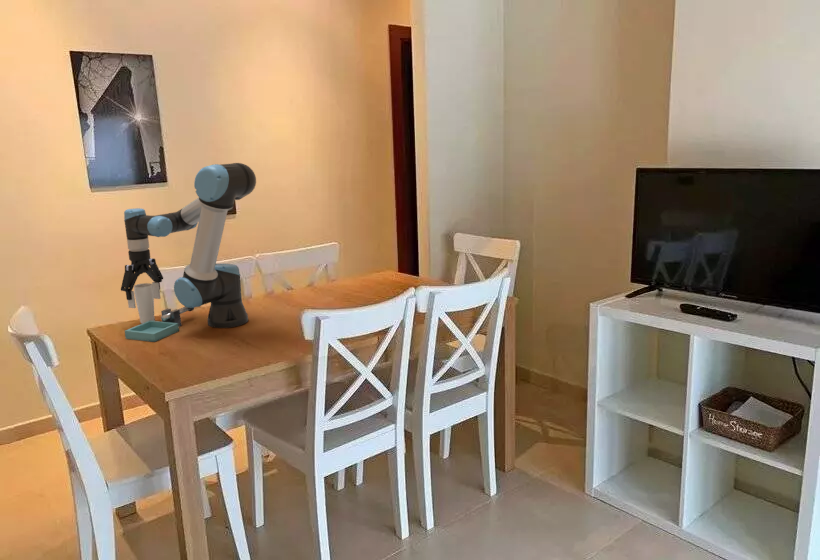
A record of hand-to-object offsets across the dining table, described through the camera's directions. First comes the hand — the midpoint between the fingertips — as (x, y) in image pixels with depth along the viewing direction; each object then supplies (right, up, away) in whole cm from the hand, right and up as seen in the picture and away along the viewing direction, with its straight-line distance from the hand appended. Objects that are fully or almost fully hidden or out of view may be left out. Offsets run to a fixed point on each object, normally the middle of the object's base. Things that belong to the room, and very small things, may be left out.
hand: (145, 303), depth 249 cm
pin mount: (+12, -9, -4) cm, 15 cm away
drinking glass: (0, -8, +2) cm, 8 cm away
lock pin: (+13, -5, -1) cm, 14 cm away
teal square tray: (+8, -11, -14) cm, 19 cm away
